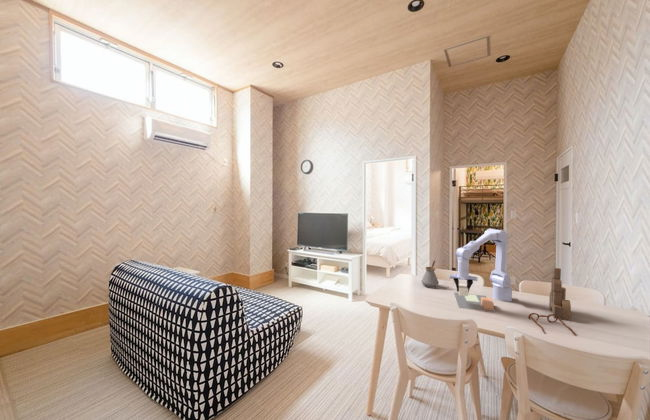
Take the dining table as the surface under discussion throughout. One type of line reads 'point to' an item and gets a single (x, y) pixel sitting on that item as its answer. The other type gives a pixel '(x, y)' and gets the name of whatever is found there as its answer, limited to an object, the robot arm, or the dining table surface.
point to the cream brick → (463, 290)
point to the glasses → (548, 320)
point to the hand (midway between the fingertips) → (462, 291)
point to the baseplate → (470, 302)
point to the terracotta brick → (487, 303)
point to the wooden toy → (559, 297)
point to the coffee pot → (430, 277)
